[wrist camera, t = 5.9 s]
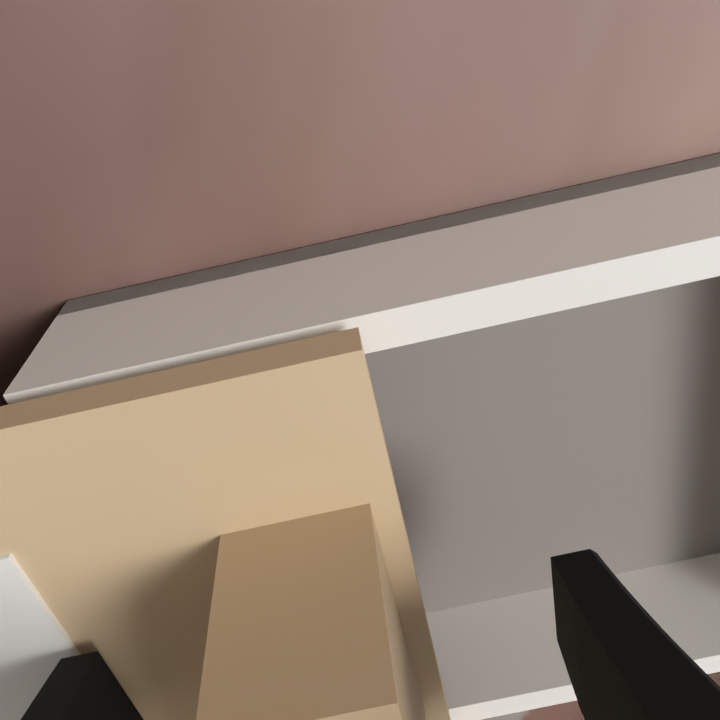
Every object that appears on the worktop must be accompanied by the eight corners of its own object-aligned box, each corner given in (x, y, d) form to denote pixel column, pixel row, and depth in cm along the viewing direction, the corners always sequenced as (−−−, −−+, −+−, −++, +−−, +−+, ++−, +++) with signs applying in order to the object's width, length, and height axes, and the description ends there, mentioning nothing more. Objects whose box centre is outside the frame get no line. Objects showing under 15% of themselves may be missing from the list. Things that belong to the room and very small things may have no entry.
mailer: (805, 133, 11) (956, 183, 9) (747, 542, 16) (830, 649, 14) (67, 300, 12) (2, 395, 9) (236, 647, 17) (224, 771, 14)
